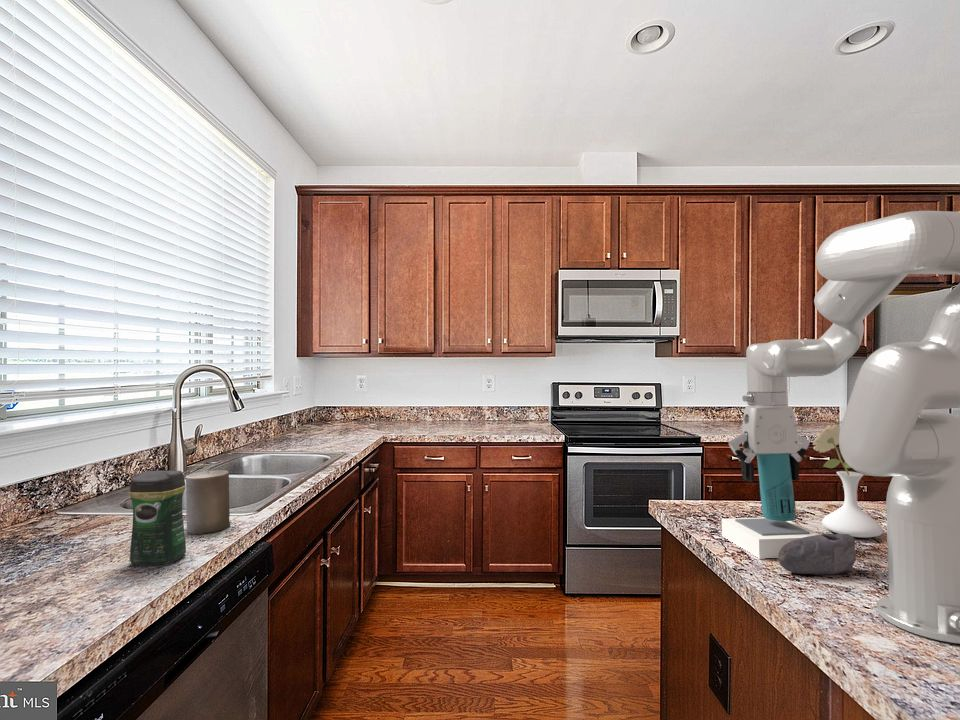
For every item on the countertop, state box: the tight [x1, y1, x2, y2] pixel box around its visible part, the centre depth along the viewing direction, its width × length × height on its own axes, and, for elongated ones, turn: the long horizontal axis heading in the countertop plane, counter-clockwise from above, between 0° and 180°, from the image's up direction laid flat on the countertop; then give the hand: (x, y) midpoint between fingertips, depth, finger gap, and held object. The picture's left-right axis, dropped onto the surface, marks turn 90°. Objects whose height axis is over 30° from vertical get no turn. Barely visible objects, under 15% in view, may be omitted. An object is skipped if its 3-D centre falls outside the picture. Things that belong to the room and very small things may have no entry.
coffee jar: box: [129, 470, 187, 566], centre depth 105 cm, size 10×8×19 cm
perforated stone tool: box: [777, 533, 857, 576], centre depth 93 cm, size 15×5×7 cm, turn 91°
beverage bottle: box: [756, 454, 797, 521], centre depth 108 cm, size 6×7×20 cm
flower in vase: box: [812, 424, 884, 539], centre depth 114 cm, size 13×11×25 cm
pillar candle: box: [185, 468, 231, 535], centre depth 126 cm, size 10×10×15 cm
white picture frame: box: [721, 516, 821, 560], centre depth 107 cm, size 14×14×4 cm
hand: (770, 480), depth 107 cm, fingers open, 9 cm apart
